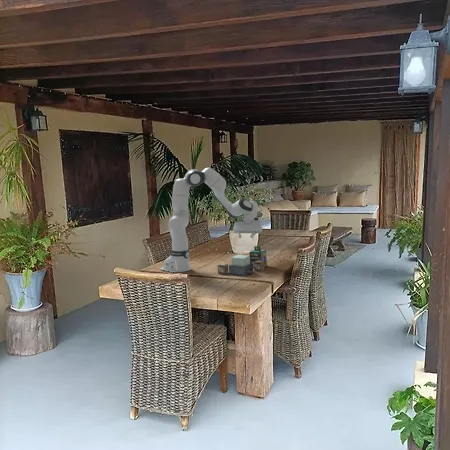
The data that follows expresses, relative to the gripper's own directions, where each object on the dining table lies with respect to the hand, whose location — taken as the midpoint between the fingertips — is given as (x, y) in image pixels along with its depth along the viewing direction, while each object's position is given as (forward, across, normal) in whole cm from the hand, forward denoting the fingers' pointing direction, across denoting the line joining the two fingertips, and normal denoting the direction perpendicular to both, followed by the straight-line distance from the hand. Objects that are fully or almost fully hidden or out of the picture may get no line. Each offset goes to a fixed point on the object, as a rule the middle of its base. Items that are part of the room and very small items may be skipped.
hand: (245, 237), depth 300 cm
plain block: (+22, 0, +5) cm, 22 cm away
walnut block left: (+26, -12, +5) cm, 29 cm away
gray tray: (+24, 0, +7) cm, 25 cm away
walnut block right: (+17, +10, +14) cm, 24 cm away
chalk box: (+11, +6, +21) cm, 24 cm away
